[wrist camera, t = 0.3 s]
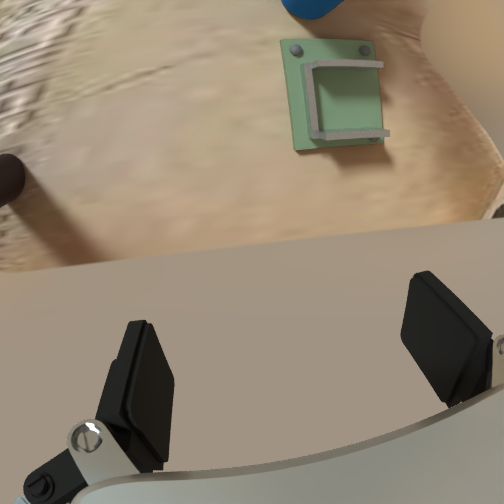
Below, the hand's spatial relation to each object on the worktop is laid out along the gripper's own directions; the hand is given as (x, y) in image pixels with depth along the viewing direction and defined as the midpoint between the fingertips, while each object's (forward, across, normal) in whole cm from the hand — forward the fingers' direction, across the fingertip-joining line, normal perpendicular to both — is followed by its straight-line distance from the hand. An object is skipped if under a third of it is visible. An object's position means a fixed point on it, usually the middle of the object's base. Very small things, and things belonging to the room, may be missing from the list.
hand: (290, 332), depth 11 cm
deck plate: (+30, -13, -9) cm, 34 cm away
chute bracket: (+29, -13, -8) cm, 33 cm away
